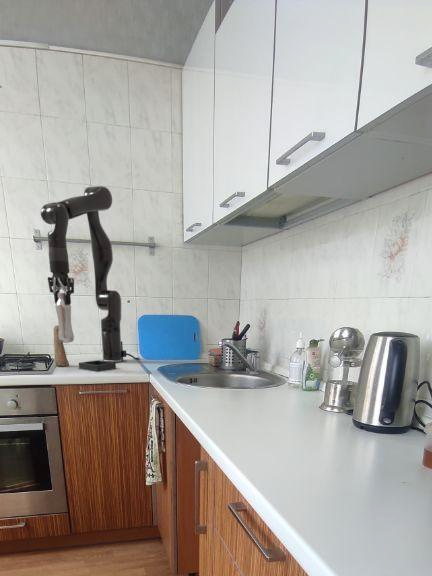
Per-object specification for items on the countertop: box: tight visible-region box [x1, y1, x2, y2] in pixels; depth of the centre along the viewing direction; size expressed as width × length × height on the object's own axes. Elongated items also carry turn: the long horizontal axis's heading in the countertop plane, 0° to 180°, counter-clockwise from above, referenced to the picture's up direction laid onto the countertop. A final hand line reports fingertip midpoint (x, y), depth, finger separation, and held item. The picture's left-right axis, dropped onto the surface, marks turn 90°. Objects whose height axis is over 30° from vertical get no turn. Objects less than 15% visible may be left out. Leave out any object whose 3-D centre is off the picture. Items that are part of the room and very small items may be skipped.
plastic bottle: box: [55, 292, 75, 344], centre depth 198 cm, size 6×7×20 cm
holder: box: [78, 359, 117, 372], centre depth 212 cm, size 12×12×3 cm
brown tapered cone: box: [53, 325, 70, 367], centre depth 213 cm, size 6×18×6 cm
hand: (62, 304), depth 196 cm, fingers closed on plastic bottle, 6 cm apart
